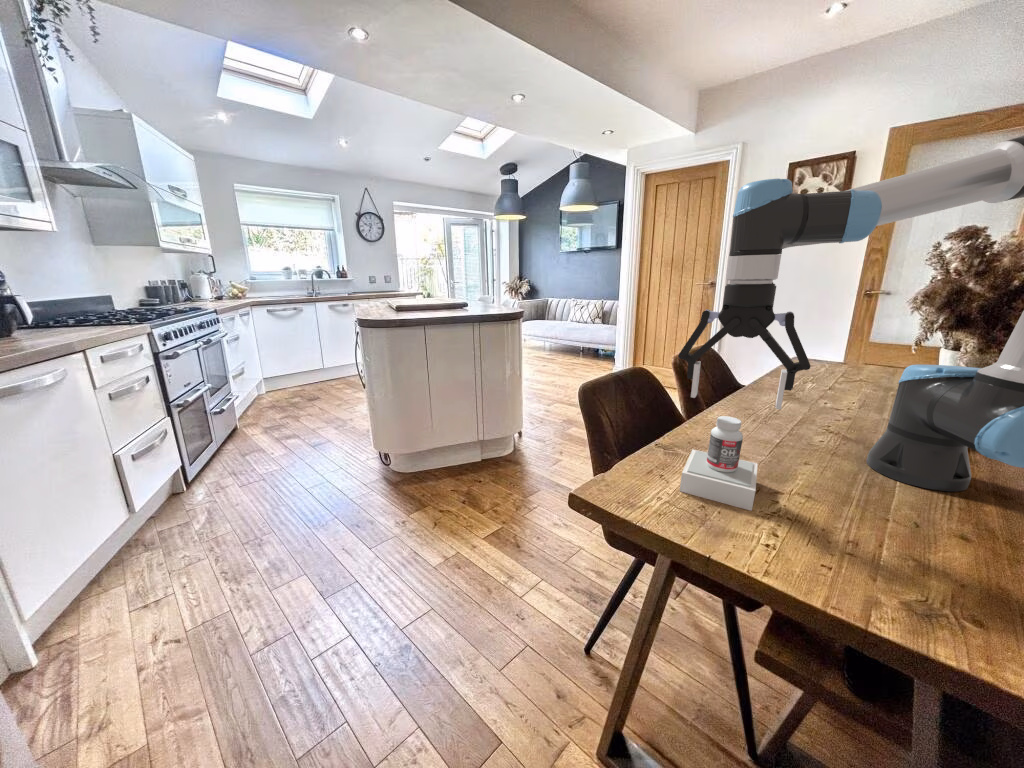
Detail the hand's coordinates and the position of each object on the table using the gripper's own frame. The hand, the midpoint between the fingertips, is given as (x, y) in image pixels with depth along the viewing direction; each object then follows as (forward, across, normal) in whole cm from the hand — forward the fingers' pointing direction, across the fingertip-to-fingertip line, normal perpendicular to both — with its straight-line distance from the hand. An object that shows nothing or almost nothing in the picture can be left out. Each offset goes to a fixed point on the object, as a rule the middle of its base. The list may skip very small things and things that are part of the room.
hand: (733, 401), depth 72 cm
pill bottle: (+14, 0, 0) cm, 14 cm away
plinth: (+18, +1, 0) cm, 18 cm away
